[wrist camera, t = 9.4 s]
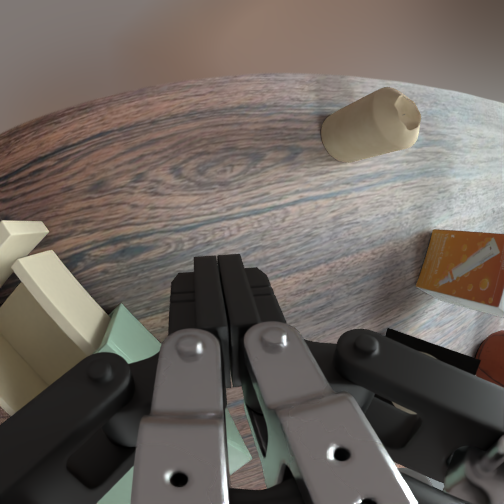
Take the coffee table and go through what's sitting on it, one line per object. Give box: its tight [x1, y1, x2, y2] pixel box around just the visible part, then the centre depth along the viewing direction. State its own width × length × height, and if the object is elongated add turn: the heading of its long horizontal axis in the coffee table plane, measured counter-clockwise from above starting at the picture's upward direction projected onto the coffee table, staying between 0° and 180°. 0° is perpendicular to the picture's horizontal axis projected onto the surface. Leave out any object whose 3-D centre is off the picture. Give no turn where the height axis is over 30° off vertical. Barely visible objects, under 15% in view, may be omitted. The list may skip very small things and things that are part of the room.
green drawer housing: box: [91, 303, 252, 504], centre depth 21 cm, size 14×13×10 cm
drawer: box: [0, 220, 111, 416], centre depth 18 cm, size 17×11×8 cm
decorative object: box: [374, 328, 481, 414], centre depth 30 cm, size 13×10×10 cm
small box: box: [416, 229, 504, 318], centre depth 30 cm, size 8×6×13 cm
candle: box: [321, 87, 421, 162], centre depth 25 cm, size 6×6×10 cm
